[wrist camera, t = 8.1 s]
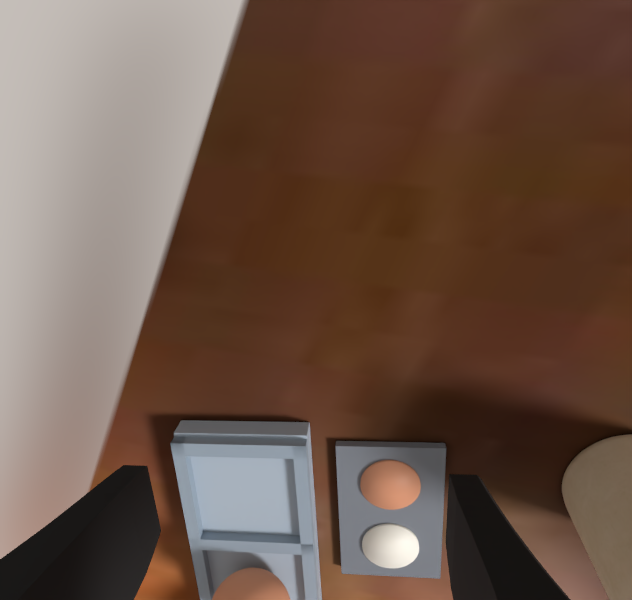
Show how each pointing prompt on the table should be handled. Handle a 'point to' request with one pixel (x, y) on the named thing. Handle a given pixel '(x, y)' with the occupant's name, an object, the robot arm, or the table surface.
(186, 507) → the board
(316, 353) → the table surface
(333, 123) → the table surface
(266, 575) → the rust ball
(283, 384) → the table surface
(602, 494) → the candle
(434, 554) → the card
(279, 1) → the table surface
